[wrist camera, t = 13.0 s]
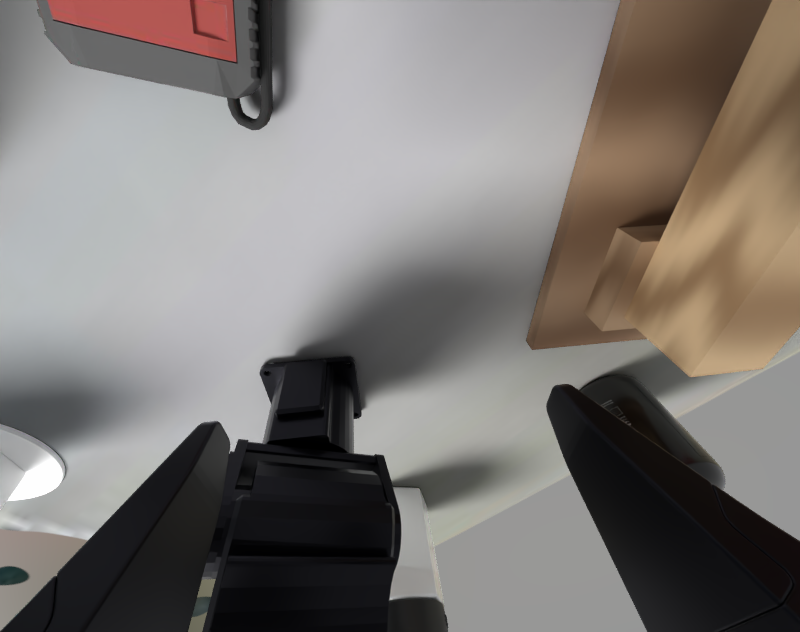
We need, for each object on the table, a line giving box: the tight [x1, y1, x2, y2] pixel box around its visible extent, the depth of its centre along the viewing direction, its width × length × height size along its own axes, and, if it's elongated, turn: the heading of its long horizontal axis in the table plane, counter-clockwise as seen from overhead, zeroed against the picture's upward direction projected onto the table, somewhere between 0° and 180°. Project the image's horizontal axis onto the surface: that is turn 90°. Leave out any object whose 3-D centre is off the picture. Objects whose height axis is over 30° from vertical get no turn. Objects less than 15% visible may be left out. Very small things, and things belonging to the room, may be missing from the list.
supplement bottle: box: [580, 375, 725, 490], centre depth 26 cm, size 7×7×12 cm
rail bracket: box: [526, 0, 772, 350], centre depth 14 cm, size 30×12×6 cm, turn 1°
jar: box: [387, 487, 448, 632], centre depth 33 cm, size 9×8×12 cm
